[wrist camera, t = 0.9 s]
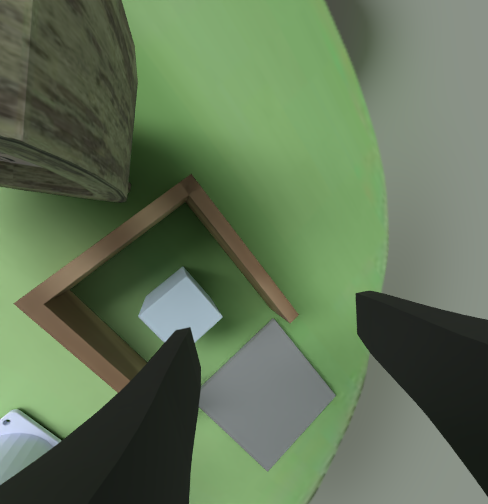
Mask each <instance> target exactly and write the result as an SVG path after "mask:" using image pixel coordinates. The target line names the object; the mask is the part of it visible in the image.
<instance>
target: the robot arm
mask: <svg viewBox="0 0 488 504" xmlns="http://www.w3.org/2000/svg"><path fill="white" fill-rule="evenodd" d="M356 314H357V334H358V336H359V337H360V339H361V340H362V342H363V343H364V345H365V346H366V347H367V349H368V350H369V352H370V353H371V354H372V355H373V357H374V358H375V359H376V360H377V361H378V362H379V363H380V364H381V365H382V366H383V368H384V369H385V370H386V371H387V372H388V373H389V374H390V375H391V376H392V377H393V378H394V379H395V381H396V382H397V383H398V384H399V385H400V386H401V387H402V388H403V389H404V390H405V391H406V393H408V395H409V396H410V397H411V398H412V399H413V400H414V401H415V402H416V403H417V405H418V406H419V407H420V408H421V409H422V410H423V412H424V413H425V414H426V415H427V416H428V417H429V418H430V420H431V421H432V423H433V424H434V425H435V426H436V428H437V429H438V430H439V432H440V433H441V434H442V435H443V437H444V438H445V439H446V441H447V442H448V443H449V444H450V445H451V447H452V448H453V450H454V451H455V453H456V454H457V455H458V457H459V458H460V459H461V460H462V462H463V463H464V465H465V466H466V467H467V469H468V470H469V471H470V473H471V474H472V475H473V477H474V478H475V479H476V481H477V482H478V484H479V485H480V486H481V488H482V489H483V491H484V492H485V493H486V495H487V496H488V320H486V319H480V318H475V317H471V316H467V315H462V314H458V313H454V312H450V311H445V310H441V309H438V308H434V307H430V306H426V305H423V304H419V303H415V302H412V301H408V300H405V299H401V298H398V297H394V296H390V295H387V294H383V293H379V292H374V291H365V292H360V293H356ZM200 392H201V366H200V362H199V359H198V355H197V351H196V347H195V343H194V339H193V335H192V331H191V327H188V328H183V329H179V330H175V331H174V333H173V334H172V335H171V336H170V337H169V338H168V339H167V341H166V342H165V343H164V344H163V345H162V347H161V348H160V349H159V350H158V351H157V352H156V354H155V355H154V356H153V357H152V358H151V359H150V360H149V362H148V363H147V364H146V365H145V366H144V367H143V368H142V369H141V370H140V371H139V372H138V373H137V374H136V375H135V377H134V378H133V379H132V380H131V381H130V382H129V383H128V384H127V385H126V386H125V387H124V388H123V389H122V390H121V391H120V392H119V393H118V394H117V395H116V396H114V397H113V398H112V399H111V400H110V401H109V402H108V403H107V404H106V405H105V406H103V407H102V408H101V409H100V410H99V411H98V412H97V413H95V414H94V415H93V416H92V417H91V418H89V419H88V420H87V421H86V422H84V423H83V424H82V425H81V426H79V427H78V428H77V429H76V430H75V431H73V432H72V433H71V434H70V435H68V436H67V437H66V438H65V439H63V440H60V439H59V438H57V437H56V436H55V435H53V434H52V433H51V432H49V431H48V430H46V429H45V428H44V427H42V426H41V425H40V424H38V423H37V422H35V421H34V420H33V419H31V418H30V417H29V416H27V415H26V414H24V413H23V412H22V411H20V410H18V409H14V410H11V411H10V412H8V413H7V414H6V415H5V416H4V417H2V418H1V419H0V504H189V491H190V472H191V461H192V452H193V445H194V438H195V430H196V423H197V416H198V408H199V400H200ZM7 419H8V420H10V421H11V422H7V421H6V420H7Z"/></svg>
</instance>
